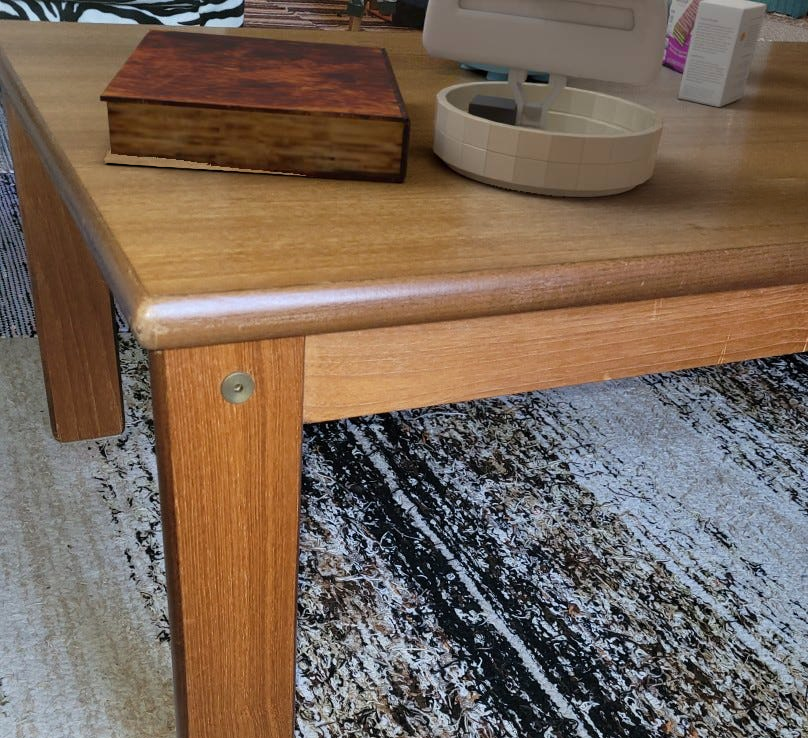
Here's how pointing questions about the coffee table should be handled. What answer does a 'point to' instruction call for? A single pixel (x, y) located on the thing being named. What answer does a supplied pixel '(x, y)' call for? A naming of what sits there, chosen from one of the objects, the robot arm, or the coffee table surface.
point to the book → (261, 106)
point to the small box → (721, 51)
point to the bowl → (549, 141)
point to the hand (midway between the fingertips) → (530, 126)
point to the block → (494, 109)
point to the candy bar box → (679, 32)
